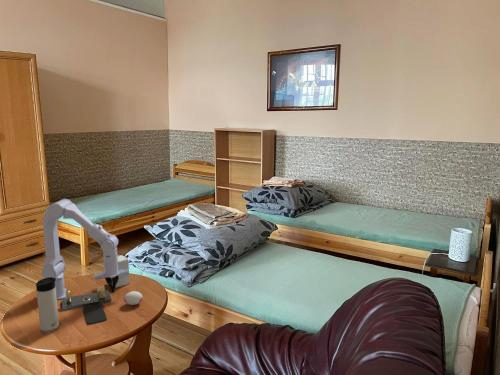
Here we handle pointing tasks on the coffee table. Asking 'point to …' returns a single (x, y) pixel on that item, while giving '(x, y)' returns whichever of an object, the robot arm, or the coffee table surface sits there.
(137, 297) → the stress ball
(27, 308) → the coffee table surface
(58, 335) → the coffee table surface
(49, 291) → the travel mug
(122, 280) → the supplement box
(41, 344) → the coffee table surface
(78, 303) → the plate
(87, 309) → the phone
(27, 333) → the coffee table surface
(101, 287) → the wooden block
